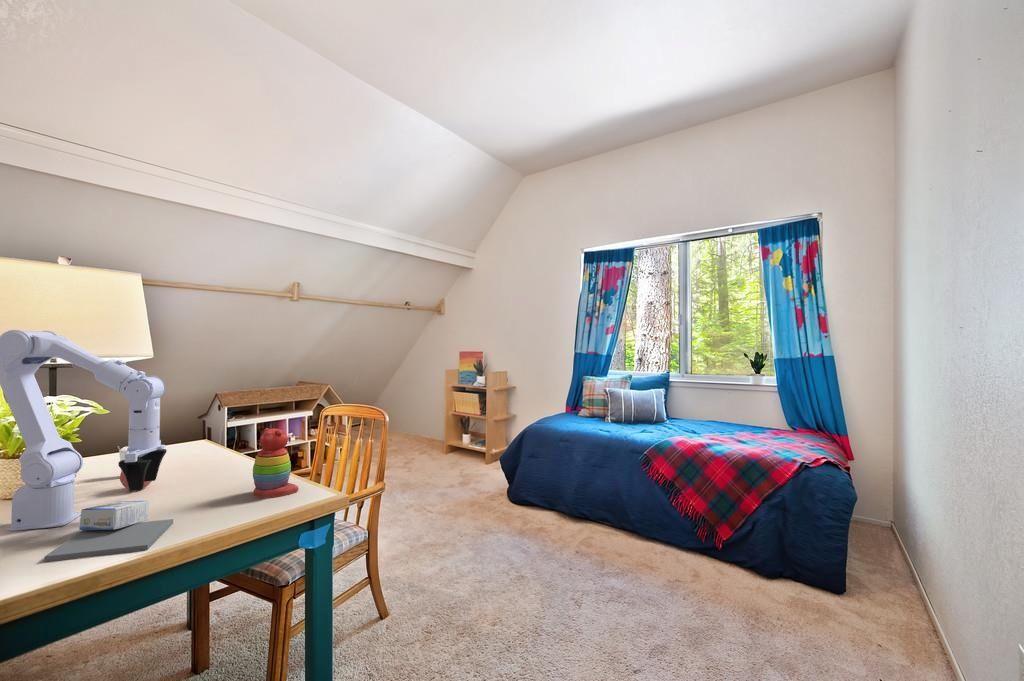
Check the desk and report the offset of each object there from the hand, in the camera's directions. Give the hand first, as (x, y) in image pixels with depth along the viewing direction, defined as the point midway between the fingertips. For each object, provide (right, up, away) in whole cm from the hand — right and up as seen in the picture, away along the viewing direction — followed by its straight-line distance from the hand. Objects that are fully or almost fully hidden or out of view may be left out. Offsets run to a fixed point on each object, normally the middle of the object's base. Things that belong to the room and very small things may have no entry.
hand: (143, 485), depth 107 cm
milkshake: (-30, -8, +31) cm, 44 cm away
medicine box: (0, -5, -3) cm, 6 cm away
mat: (+4, -8, -13) cm, 15 cm away
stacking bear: (+21, -8, +19) cm, 29 cm away
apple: (-18, -8, +20) cm, 28 cm away
